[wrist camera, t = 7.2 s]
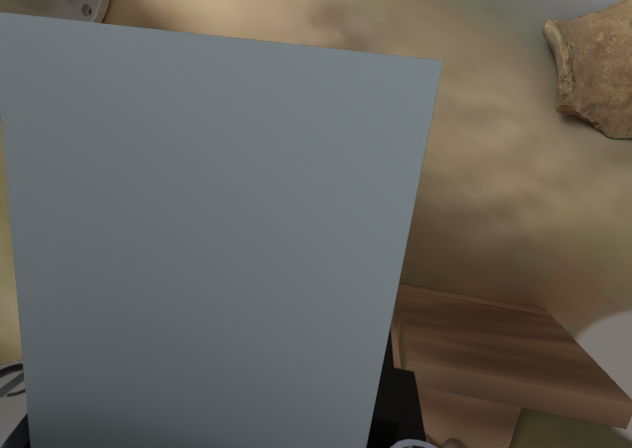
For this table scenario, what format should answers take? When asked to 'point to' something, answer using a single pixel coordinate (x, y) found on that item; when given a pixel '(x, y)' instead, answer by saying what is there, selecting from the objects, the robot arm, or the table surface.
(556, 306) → the table surface
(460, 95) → the table surface
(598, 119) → the pottery shard
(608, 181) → the table surface
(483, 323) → the peg frame
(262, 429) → the grey rectangular block
